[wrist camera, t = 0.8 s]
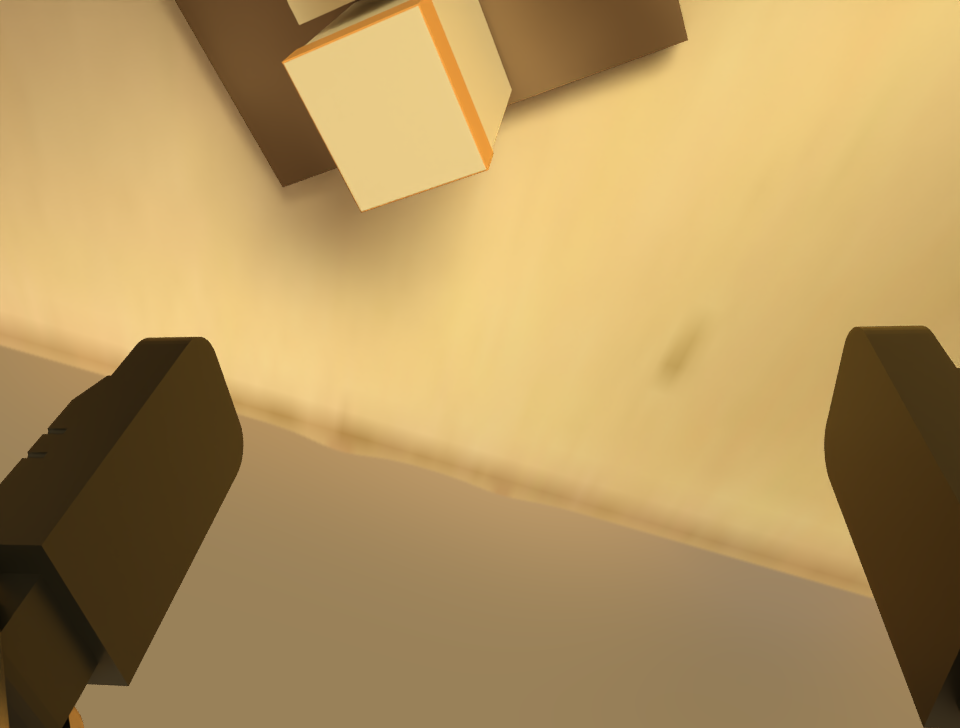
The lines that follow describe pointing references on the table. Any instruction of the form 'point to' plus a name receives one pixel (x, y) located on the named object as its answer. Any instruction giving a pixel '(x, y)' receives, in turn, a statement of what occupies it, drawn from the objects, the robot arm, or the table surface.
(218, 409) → the robot arm
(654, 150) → the table surface
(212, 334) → the table surface
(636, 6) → the ticket board
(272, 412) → the table surface
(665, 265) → the table surface
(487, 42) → the orange-striped cream block
